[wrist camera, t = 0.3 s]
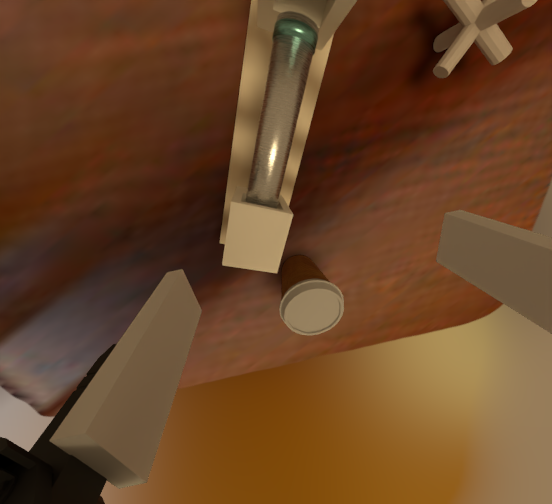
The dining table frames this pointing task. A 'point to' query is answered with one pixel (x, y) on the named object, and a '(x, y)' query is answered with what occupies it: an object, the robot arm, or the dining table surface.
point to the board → (251, 108)
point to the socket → (313, 3)
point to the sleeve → (256, 234)
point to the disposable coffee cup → (308, 298)
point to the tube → (281, 105)
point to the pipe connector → (476, 31)
